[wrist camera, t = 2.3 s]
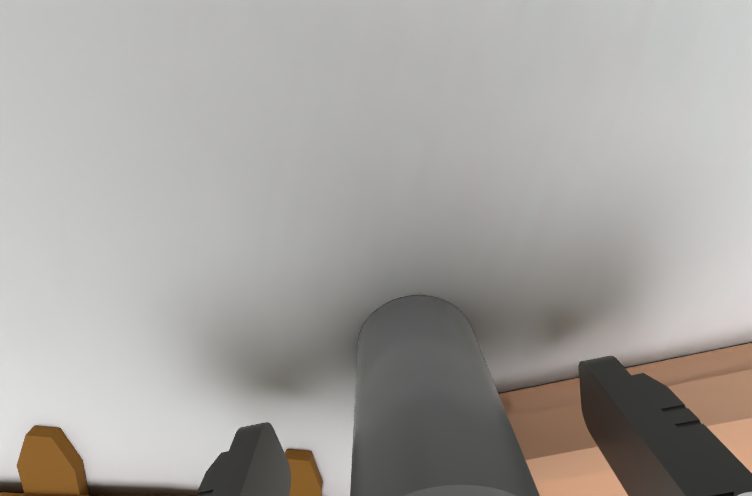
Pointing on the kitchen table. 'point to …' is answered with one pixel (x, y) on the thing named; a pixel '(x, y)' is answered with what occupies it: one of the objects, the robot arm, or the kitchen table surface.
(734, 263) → the kitchen table surface
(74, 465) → the decorative fence
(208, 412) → the kitchen table surface
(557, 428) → the dish
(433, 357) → the plug
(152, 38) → the kitchen table surface
